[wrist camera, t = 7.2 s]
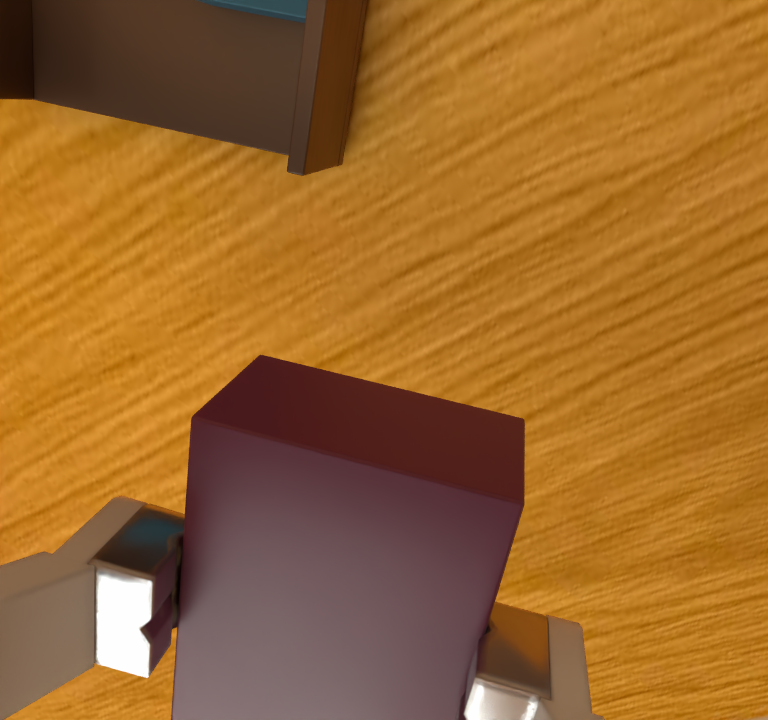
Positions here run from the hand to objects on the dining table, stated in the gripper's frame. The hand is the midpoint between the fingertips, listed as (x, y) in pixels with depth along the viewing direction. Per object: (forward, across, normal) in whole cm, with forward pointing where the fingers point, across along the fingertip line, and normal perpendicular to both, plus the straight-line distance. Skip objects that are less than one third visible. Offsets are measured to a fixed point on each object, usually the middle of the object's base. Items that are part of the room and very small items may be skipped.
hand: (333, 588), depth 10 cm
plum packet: (+2, 0, 0) cm, 2 cm away
